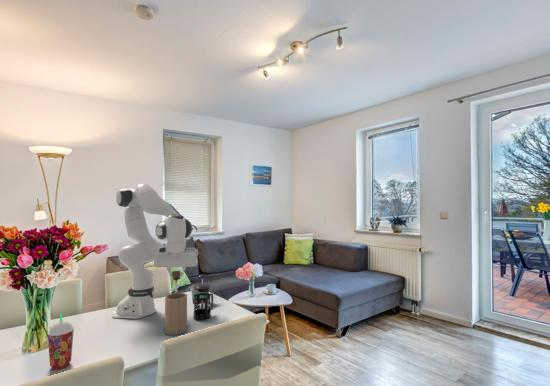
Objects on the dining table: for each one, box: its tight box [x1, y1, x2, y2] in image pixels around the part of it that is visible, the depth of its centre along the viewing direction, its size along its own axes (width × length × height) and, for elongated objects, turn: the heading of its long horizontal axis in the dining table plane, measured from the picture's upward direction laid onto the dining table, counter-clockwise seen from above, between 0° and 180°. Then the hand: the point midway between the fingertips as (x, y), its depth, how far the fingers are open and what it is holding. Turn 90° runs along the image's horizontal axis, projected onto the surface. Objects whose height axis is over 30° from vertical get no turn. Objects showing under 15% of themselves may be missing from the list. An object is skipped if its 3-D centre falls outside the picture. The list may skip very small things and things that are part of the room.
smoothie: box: [47, 313, 75, 370], centre depth 119 cm, size 8×8×20 cm
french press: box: [192, 274, 214, 322], centre depth 167 cm, size 12×9×23 cm
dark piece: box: [189, 286, 210, 305], centre depth 188 cm, size 12×6×10 cm, turn 88°
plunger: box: [172, 270, 181, 299], centre depth 150 cm, size 7×7×16 cm
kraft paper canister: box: [163, 292, 189, 337], centre depth 151 cm, size 11×13×17 cm
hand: (176, 276), depth 150 cm, fingers closed on plunger, 4 cm apart
